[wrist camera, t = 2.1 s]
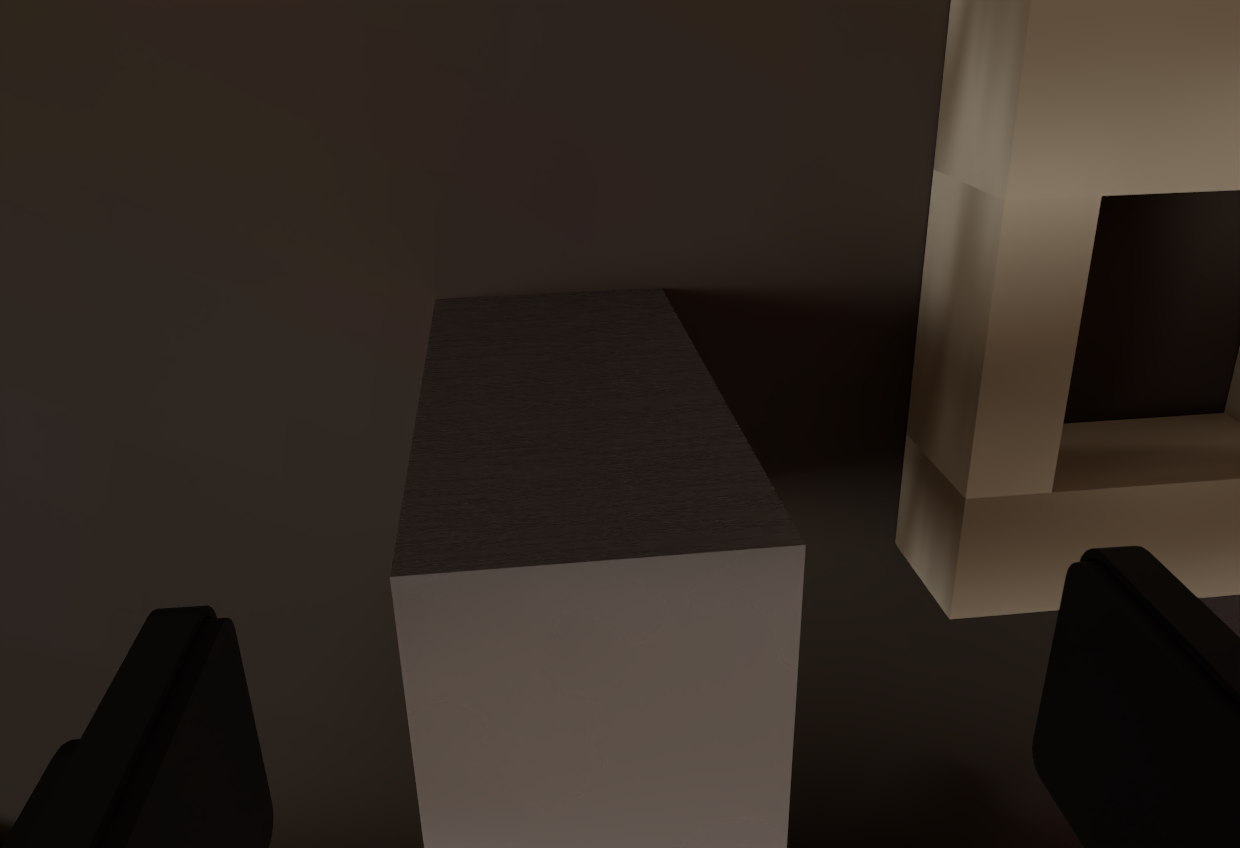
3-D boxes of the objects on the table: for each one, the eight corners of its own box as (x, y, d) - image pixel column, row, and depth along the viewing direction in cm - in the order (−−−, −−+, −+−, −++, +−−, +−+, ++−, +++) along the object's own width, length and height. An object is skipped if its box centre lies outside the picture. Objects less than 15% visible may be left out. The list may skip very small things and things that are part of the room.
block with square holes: (1266, 514, 24) (1366, 583, 21) (895, 543, 23) (949, 619, 20) (1614, -794, 15) (1863, -963, 12) (1036, -830, 14) (1166, -1021, 12)
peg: (662, 488, 22) (786, 851, 13) (454, 502, 21) (429, 889, 12) (661, 288, 20) (805, 544, 11) (435, 300, 20) (389, 577, 11)
